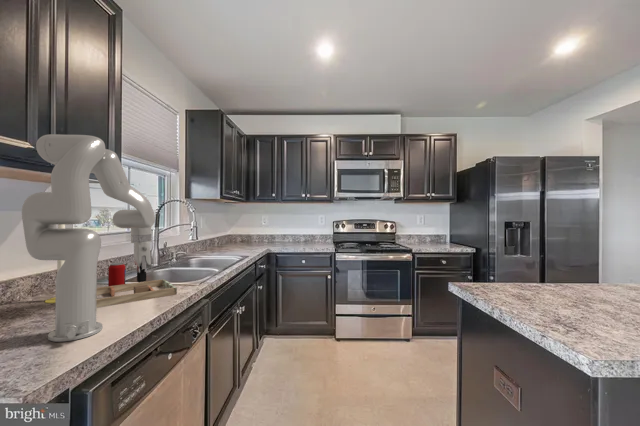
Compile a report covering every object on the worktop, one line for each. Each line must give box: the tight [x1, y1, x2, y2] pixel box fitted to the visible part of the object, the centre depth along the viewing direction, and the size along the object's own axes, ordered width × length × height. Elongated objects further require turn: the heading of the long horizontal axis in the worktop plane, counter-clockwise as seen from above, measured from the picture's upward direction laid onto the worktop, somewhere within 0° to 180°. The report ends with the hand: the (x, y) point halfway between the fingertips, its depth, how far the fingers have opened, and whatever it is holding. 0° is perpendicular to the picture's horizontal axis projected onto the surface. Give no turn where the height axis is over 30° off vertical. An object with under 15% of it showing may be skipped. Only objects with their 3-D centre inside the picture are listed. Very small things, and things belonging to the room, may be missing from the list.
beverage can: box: [107, 262, 127, 287], centre depth 140 cm, size 7×7×12 cm
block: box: [133, 285, 149, 294], centre depth 129 cm, size 5×5×4 cm
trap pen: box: [96, 278, 178, 309], centre depth 129 cm, size 22×30×3 cm
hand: (141, 281), depth 125 cm, fingers closed
